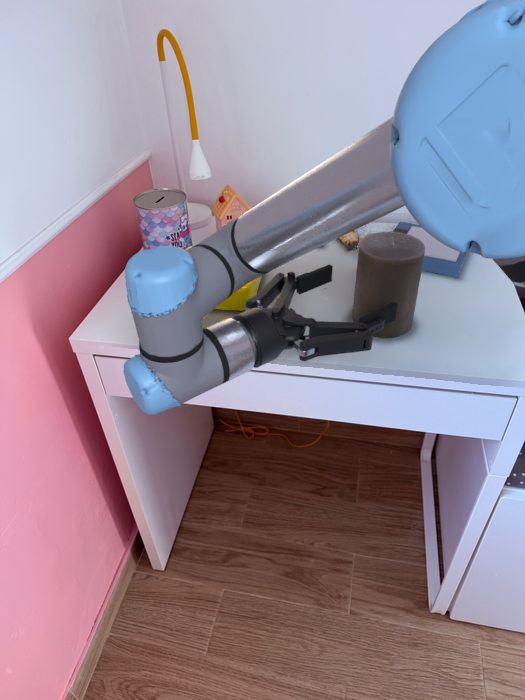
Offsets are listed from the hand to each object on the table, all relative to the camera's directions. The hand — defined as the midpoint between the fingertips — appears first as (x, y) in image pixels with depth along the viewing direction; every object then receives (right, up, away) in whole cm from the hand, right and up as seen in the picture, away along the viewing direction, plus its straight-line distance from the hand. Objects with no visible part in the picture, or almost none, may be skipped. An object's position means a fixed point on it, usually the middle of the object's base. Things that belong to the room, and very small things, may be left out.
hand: (360, 290), depth 78 cm
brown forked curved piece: (+1, +15, +32) cm, 35 cm away
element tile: (-23, +2, +17) cm, 29 cm away
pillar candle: (+5, -4, +7) cm, 10 cm away
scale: (+18, +10, +25) cm, 32 cm away
